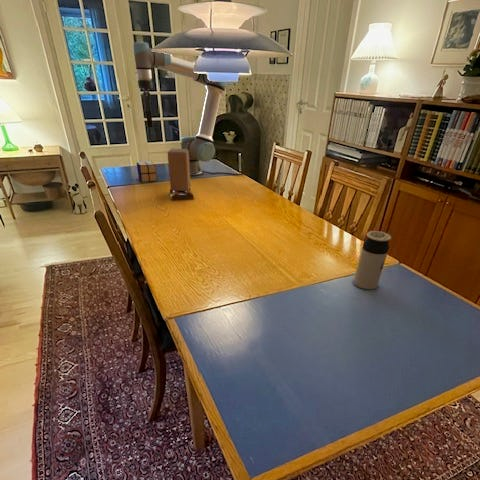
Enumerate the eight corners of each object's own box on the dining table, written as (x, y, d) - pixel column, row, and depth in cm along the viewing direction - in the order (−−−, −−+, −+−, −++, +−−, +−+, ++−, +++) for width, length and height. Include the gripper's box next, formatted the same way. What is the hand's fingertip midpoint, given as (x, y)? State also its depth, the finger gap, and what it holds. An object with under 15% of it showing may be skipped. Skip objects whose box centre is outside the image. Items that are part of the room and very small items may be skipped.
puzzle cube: (138, 178, 225) (136, 162, 219) (153, 177, 228) (151, 161, 223) (141, 182, 218) (139, 165, 212) (157, 180, 221) (155, 164, 215)
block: (188, 191, 190) (186, 152, 178) (170, 191, 190) (166, 151, 178) (190, 186, 198) (188, 148, 186) (173, 186, 198) (170, 148, 186)
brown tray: (190, 192, 203) (190, 185, 201) (193, 199, 192) (193, 192, 190) (170, 193, 200) (169, 186, 198) (171, 200, 190) (171, 192, 187)
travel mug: (349, 283, 119) (361, 234, 109) (360, 276, 124) (373, 228, 113) (370, 292, 115) (384, 242, 104) (381, 284, 119) (396, 235, 109)
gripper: (137, 78, 189) (142, 122, 202) (137, 80, 170) (143, 128, 182) (151, 79, 191) (155, 122, 203) (152, 80, 171) (157, 128, 184)
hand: (149, 125), depth 193 cm, fingers open, 13 cm apart
